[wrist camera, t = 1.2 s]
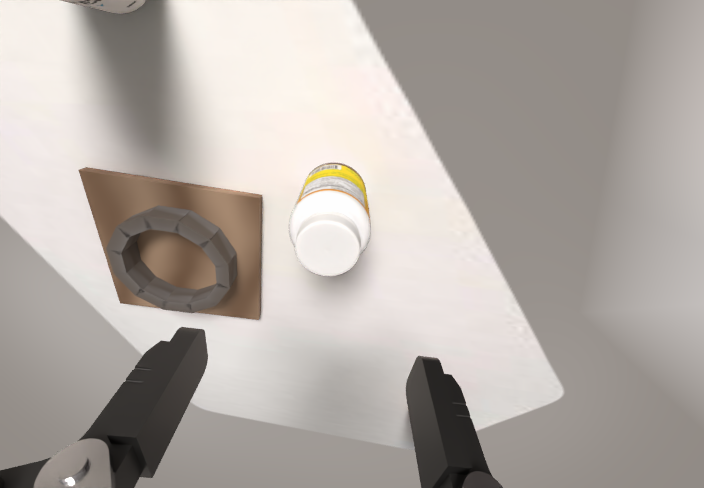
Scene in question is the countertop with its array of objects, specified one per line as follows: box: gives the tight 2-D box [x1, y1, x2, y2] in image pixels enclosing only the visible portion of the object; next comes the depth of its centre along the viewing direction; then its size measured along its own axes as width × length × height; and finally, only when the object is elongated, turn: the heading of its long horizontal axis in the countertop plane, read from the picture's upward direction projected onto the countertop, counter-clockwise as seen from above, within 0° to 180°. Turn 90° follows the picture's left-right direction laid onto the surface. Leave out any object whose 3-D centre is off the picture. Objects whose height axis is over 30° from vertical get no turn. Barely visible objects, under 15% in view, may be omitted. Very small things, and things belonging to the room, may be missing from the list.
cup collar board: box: [79, 167, 262, 320], centre depth 28 cm, size 15×15×3 cm
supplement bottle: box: [289, 162, 371, 276], centre depth 22 cm, size 6×6×10 cm
